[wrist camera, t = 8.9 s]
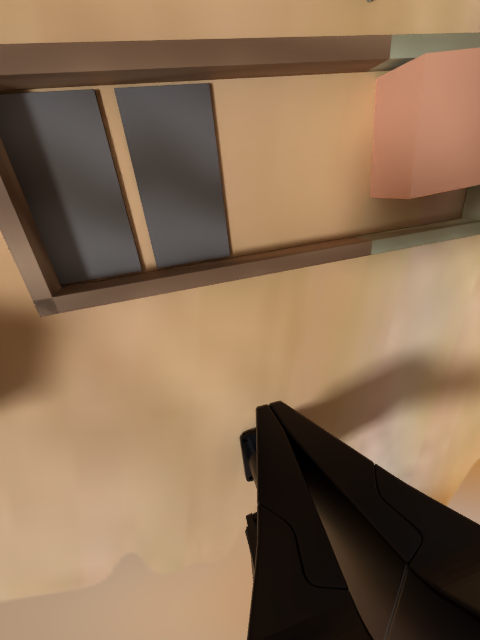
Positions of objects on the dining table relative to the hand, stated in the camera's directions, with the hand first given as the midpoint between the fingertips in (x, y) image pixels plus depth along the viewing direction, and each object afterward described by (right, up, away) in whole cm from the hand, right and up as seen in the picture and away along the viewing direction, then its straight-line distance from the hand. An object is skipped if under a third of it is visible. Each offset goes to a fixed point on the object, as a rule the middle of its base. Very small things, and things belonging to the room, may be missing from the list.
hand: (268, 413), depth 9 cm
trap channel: (+3, +13, +10) cm, 16 cm away
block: (+12, +16, +11) cm, 23 cm away
